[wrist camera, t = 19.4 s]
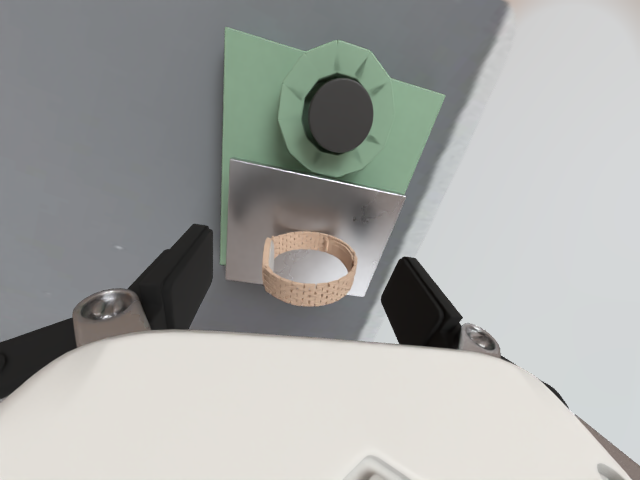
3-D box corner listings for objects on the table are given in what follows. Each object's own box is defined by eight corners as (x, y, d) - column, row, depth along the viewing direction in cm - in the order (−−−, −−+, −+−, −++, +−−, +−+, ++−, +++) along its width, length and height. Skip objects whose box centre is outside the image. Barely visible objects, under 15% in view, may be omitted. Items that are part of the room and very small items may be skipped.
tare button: (314, 74, 11) (316, 68, 9) (372, 91, 11) (383, 88, 10) (302, 141, 12) (302, 144, 11) (354, 153, 13) (362, 159, 11)
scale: (232, 23, 12) (213, -3, 9) (436, 88, 14) (469, 82, 11) (225, 254, 18) (212, 278, 16) (363, 274, 20) (372, 297, 18)
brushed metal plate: (232, 156, 12) (229, 158, 11) (403, 193, 14) (407, 196, 13) (227, 274, 16) (225, 280, 15) (362, 291, 17) (364, 297, 17)
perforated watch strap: (270, 219, 13) (255, 271, 9) (349, 223, 14) (372, 274, 9) (271, 257, 14) (258, 318, 10) (343, 260, 15) (361, 319, 11)
